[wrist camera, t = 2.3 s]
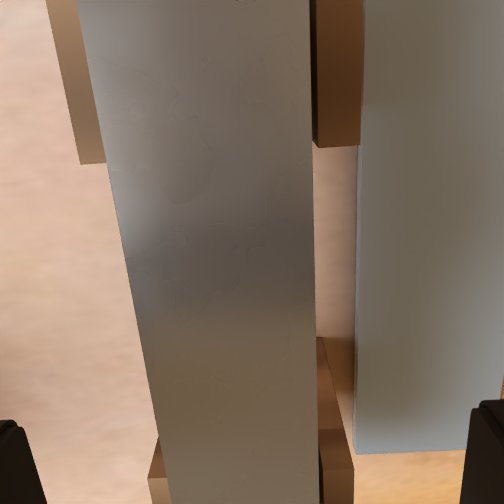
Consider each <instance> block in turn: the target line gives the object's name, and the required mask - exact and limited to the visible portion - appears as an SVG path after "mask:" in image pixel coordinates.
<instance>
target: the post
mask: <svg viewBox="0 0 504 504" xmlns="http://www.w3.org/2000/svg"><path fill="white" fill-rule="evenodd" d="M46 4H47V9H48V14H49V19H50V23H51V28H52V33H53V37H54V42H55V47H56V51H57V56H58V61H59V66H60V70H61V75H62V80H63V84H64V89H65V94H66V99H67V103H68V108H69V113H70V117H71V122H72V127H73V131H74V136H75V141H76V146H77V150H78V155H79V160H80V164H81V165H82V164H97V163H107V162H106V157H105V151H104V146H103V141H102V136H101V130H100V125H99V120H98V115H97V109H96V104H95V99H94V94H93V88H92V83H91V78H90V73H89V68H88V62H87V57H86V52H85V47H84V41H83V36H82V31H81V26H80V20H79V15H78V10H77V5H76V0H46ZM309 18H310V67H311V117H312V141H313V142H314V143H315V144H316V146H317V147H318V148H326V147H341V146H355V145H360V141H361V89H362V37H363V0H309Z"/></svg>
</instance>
